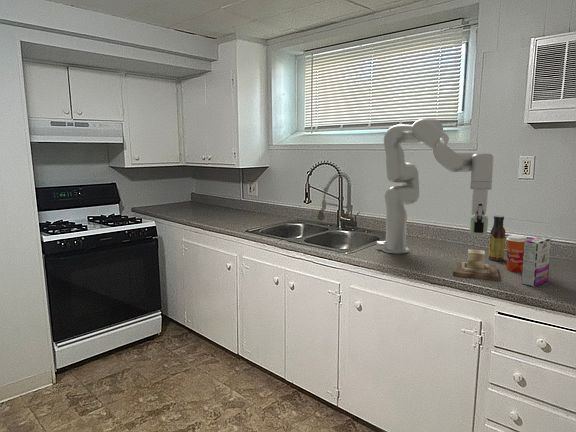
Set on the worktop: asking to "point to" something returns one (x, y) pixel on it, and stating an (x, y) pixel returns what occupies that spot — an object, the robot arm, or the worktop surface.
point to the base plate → (476, 271)
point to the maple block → (476, 259)
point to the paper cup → (515, 252)
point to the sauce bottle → (497, 239)
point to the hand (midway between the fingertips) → (478, 230)
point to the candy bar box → (536, 261)
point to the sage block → (485, 221)
